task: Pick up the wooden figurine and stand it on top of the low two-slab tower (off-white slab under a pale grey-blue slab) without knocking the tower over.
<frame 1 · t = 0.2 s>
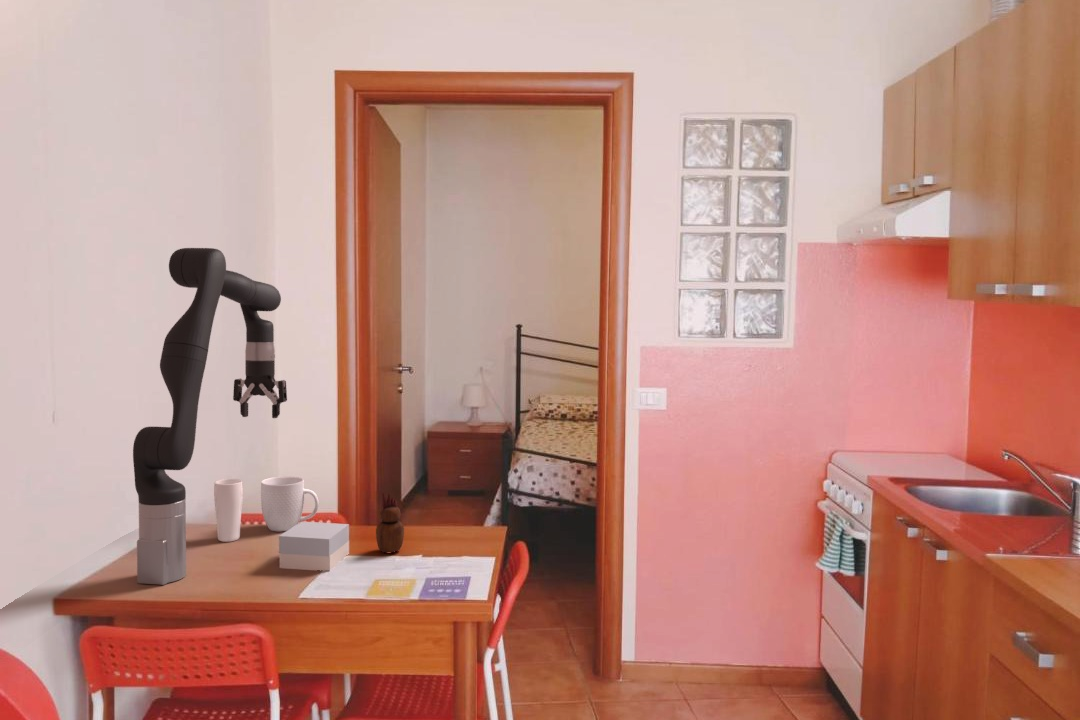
hand: (260, 417, 210), 29 cm above the table, tool pointing down, fingers open, 8 cm apart
wooden figurine: (389, 552, 189), on the table
mug: (286, 528, 207), on the table
tower bottom slab: (315, 562, 181), on the table, touching tower top slab
tower top slab: (314, 546, 180), point 4 cm above the table, touching tower bottom slab
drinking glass: (228, 540, 196), on the table
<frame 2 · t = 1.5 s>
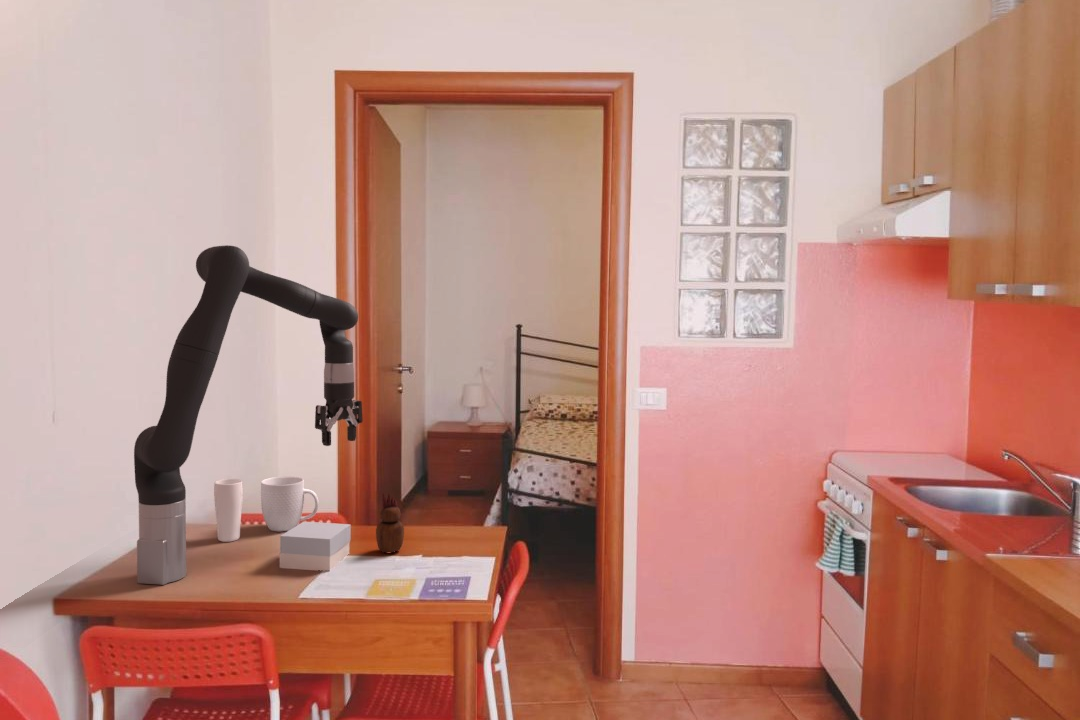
hand: (339, 443, 197), 25 cm above the table, tool pointing down, fingers open, 8 cm apart
nothing on the table moved.
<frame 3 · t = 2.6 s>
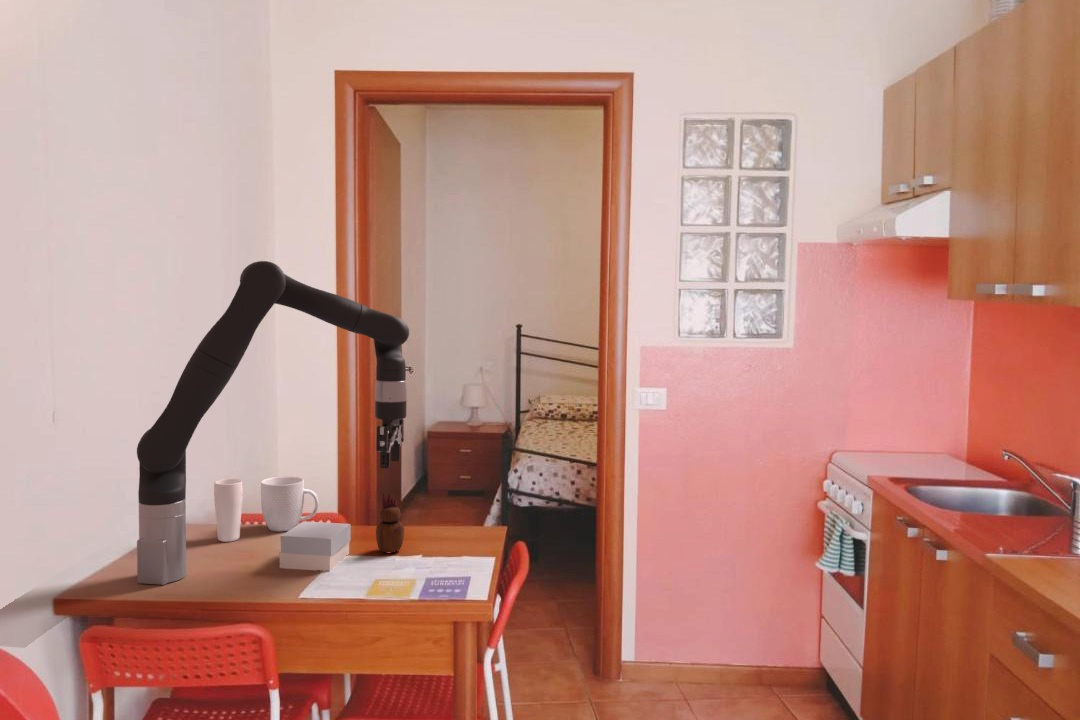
hand: (390, 464, 188), 22 cm above the table, tool pointing down, fingers open, 8 cm apart
nothing on the table moved.
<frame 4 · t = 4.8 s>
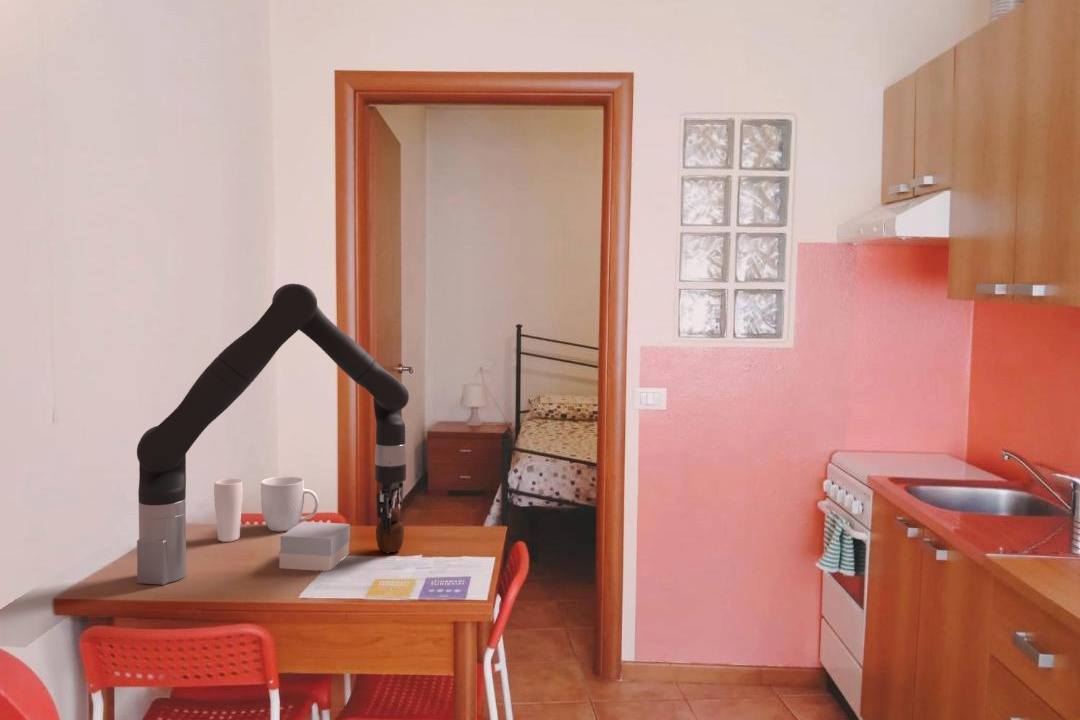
hand: (390, 528, 189), 6 cm above the table, tool pointing down, fingers closed on wooden figurine, 6 cm apart
wooden figurine: (389, 552, 189), on the table, touching gripper
everything else where it was.
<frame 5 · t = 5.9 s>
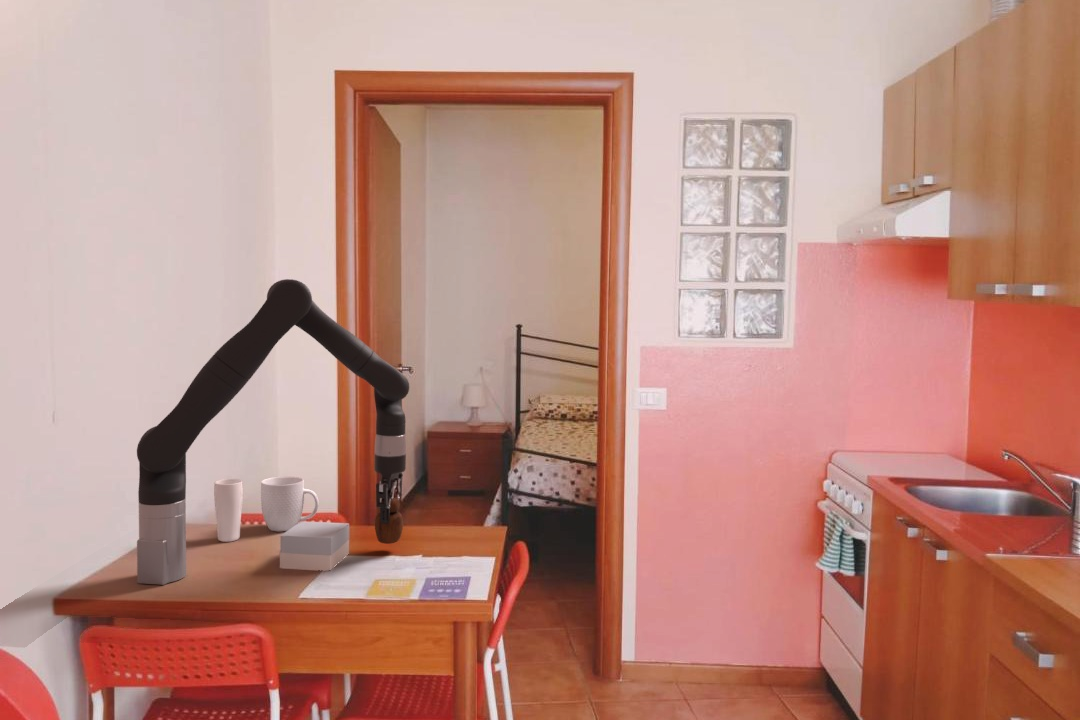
hand: (389, 519, 188), 8 cm above the table, tool pointing down, fingers closed on wooden figurine, 6 cm apart
wooden figurine: (388, 542, 189), point 2 cm above the table, touching gripper
tower bottom slab: (315, 562, 181), on the table
tower top slab: (315, 545, 181), point 4 cm above the table
everything else where it was.
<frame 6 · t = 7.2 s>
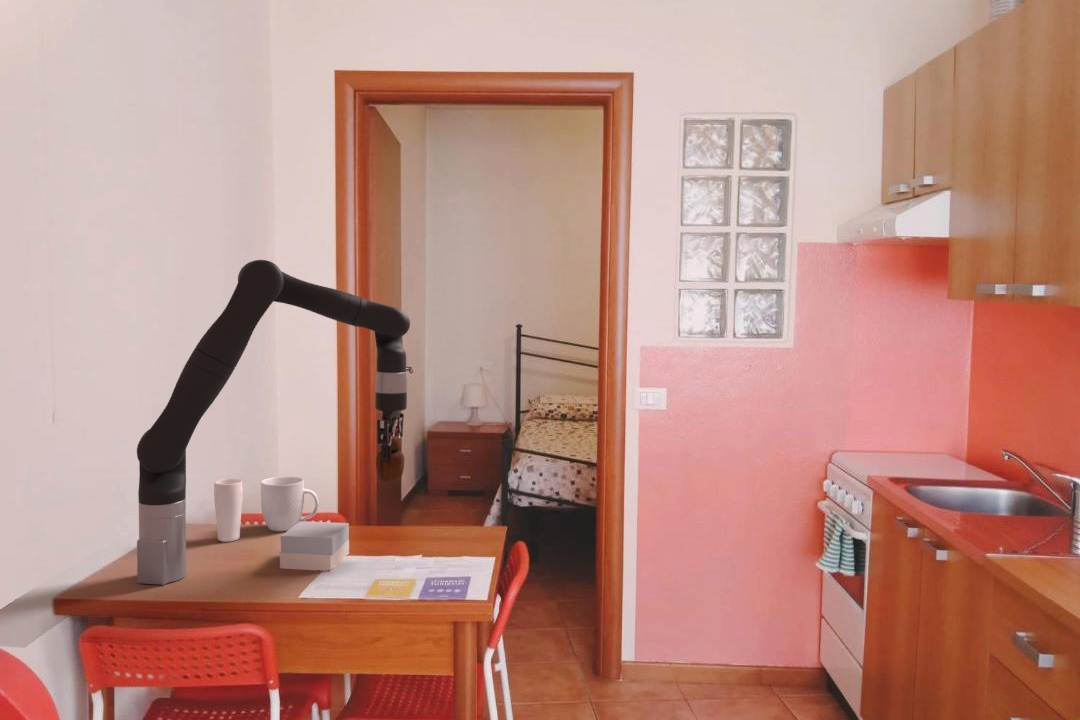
hand: (390, 458, 187), 23 cm above the table, tool pointing down, fingers closed on wooden figurine, 6 cm apart
wooden figurine: (390, 481, 188), point 17 cm above the table, touching gripper
tower bottom slab: (315, 562, 181), on the table, touching tower top slab
tower top slab: (315, 545, 181), point 4 cm above the table, touching tower bottom slab
everything else where it was.
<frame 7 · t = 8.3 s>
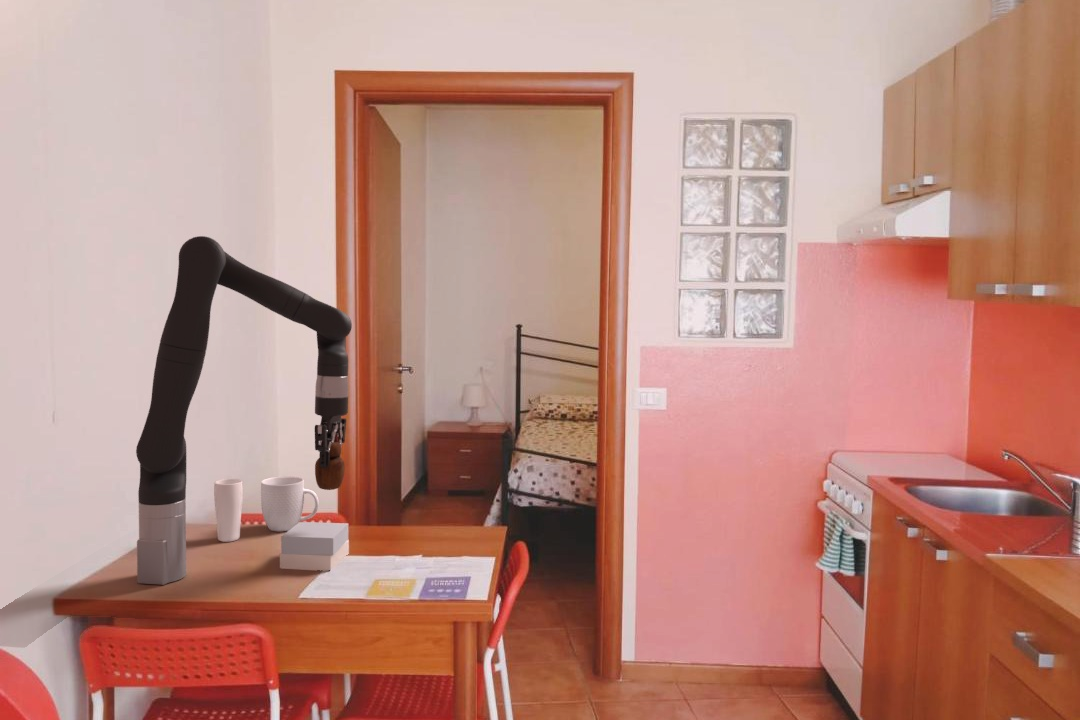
hand: (329, 464, 181), 23 cm above the table, tool pointing down, fingers closed on wooden figurine, 6 cm apart
wooden figurine: (329, 489, 181), point 17 cm above the table, touching gripper
everything else where it was.
when the fingers open (14 cm above the table, at t = 13.1 s): wooden figurine stays where it is, point 7 cm above the table.
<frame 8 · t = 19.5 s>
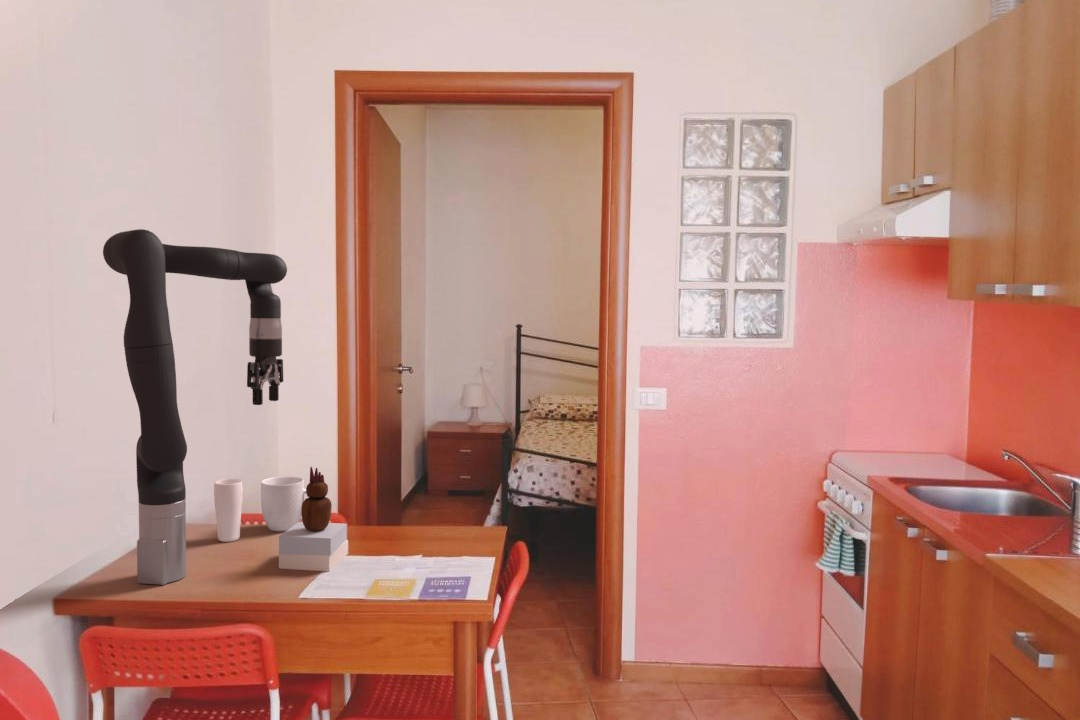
hand: (265, 402, 188), 36 cm above the table, tool pointing down, fingers open, 8 cm apart
wooden figurine: (315, 530, 180), point 7 cm above the table
everything else where it was.
at the end: wooden figurine inside the target area on the tower top slab (0.4 cm from its centre), point 3.8 cm above the tower top slab's base; wooden figurine tilted 1°; tower top slab moved 0.7 cm from its start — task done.
